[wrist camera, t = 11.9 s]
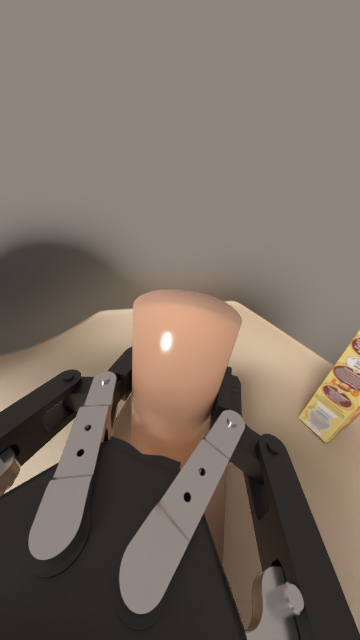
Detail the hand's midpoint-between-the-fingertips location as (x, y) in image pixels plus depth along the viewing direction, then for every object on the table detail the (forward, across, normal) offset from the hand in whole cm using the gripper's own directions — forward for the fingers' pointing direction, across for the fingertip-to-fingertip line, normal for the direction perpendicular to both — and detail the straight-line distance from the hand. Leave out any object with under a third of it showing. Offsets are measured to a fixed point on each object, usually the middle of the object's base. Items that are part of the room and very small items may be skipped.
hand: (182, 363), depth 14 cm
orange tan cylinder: (-2, 0, +8) cm, 8 cm away
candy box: (+12, -21, +13) cm, 28 cm away
